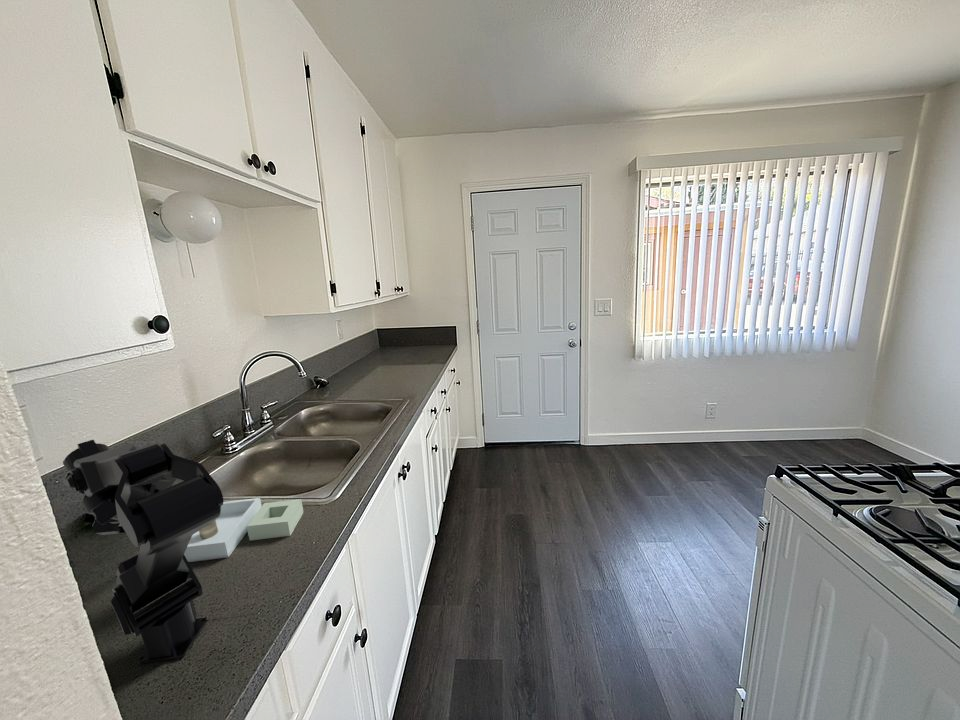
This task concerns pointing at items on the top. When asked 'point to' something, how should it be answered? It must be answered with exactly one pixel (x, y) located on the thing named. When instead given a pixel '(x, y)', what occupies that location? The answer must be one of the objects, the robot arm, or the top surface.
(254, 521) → the dowel block
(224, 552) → the tray
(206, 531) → the dowel
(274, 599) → the top surface
